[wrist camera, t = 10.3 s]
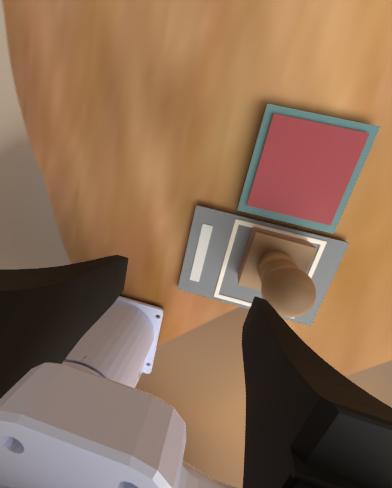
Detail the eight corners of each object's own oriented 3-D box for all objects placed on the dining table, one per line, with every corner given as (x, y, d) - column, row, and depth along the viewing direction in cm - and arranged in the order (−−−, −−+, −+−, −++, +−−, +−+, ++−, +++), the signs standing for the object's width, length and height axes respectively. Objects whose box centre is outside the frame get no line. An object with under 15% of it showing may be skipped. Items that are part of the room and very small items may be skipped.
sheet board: (308, 322, 23) (311, 326, 22) (178, 286, 24) (177, 289, 23) (345, 241, 20) (349, 243, 19) (197, 204, 21) (196, 205, 20)
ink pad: (328, 231, 20) (335, 234, 19) (236, 208, 20) (237, 210, 19) (371, 129, 17) (382, 125, 16) (265, 107, 18) (268, 102, 17)
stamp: (287, 288, 21) (318, 349, 14) (237, 274, 22) (241, 326, 14) (307, 240, 20) (355, 280, 12) (253, 226, 20) (267, 256, 12)
